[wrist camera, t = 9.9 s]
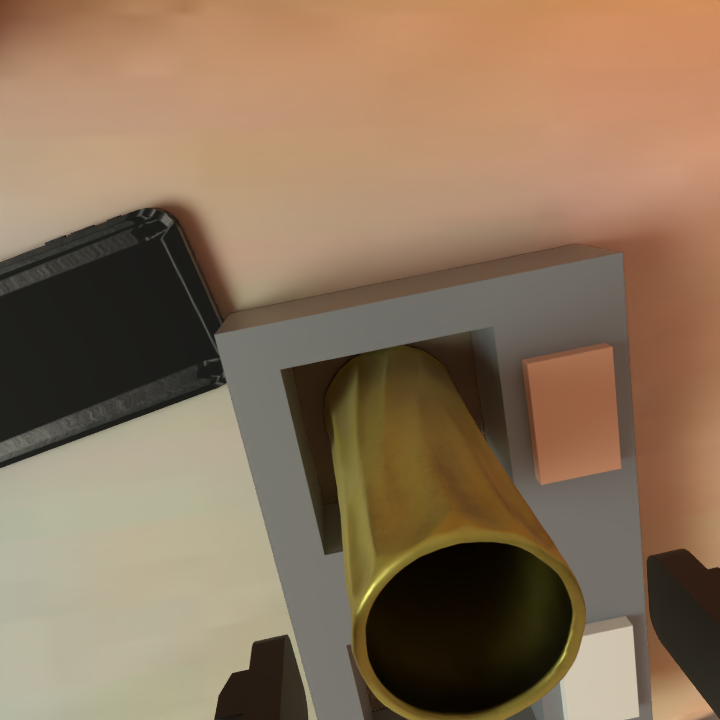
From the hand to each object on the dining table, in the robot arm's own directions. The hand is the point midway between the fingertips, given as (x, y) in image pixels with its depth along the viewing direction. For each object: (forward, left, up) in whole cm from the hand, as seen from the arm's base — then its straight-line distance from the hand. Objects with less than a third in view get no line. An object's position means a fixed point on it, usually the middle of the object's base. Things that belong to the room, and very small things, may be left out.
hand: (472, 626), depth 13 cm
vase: (0, 0, -14) cm, 14 cm away
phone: (-5, -14, -15) cm, 21 cm away
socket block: (+7, +1, -14) cm, 16 cm away
